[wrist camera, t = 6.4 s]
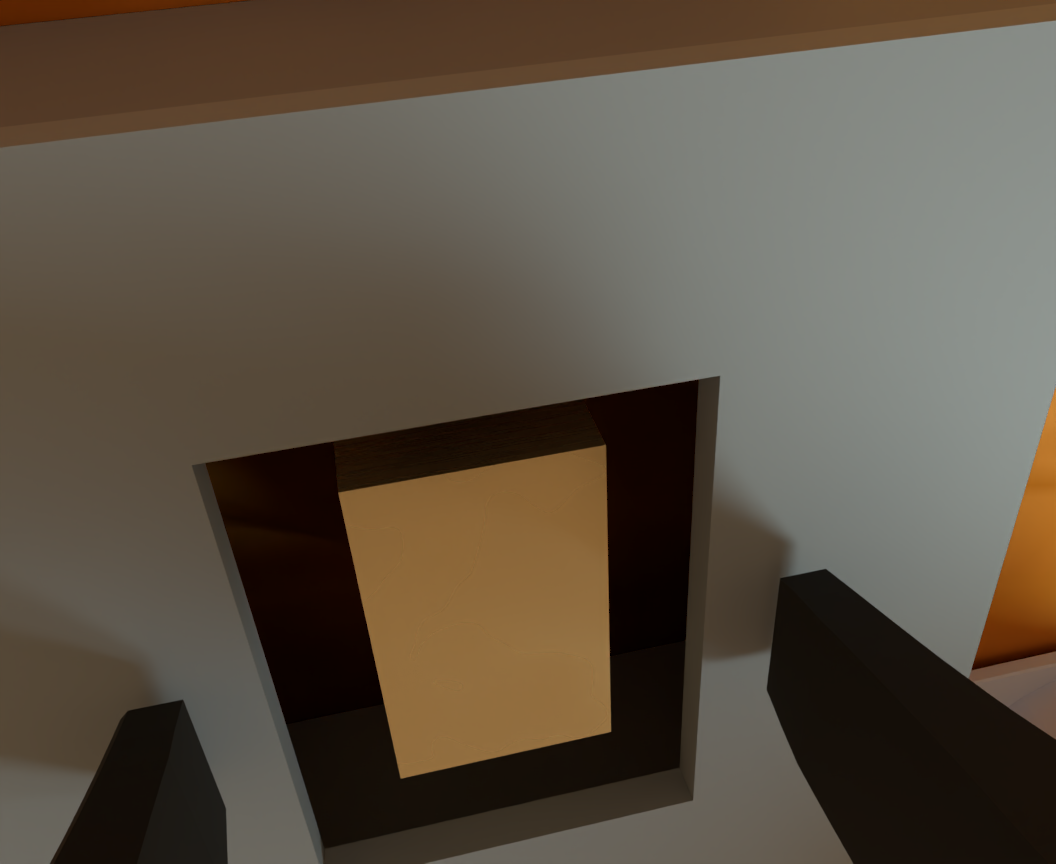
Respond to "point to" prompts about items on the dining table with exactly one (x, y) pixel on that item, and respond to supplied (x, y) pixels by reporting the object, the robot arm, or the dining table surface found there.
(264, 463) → the dining table surface
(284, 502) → the dining table surface
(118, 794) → the robot arm
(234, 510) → the dining table surface
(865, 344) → the money box
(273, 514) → the dining table surface
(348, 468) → the wooden block
